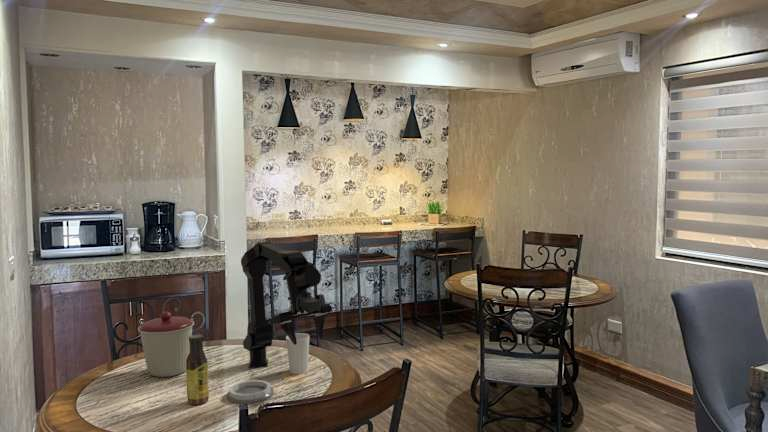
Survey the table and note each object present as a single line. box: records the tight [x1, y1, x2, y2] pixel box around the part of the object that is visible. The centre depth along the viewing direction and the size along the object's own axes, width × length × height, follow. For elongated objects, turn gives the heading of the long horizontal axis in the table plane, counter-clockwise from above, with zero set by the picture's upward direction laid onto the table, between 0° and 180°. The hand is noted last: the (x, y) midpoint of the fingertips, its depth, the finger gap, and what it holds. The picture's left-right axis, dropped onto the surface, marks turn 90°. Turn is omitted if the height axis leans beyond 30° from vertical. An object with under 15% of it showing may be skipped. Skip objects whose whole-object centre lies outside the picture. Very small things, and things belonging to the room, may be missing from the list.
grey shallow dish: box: [226, 379, 275, 405], centre depth 182 cm, size 14×14×2 cm
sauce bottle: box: [185, 334, 210, 406], centre depth 177 cm, size 7×6×20 cm
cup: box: [285, 332, 310, 375], centre depth 202 cm, size 8×8×12 cm
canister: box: [137, 311, 195, 378], centre depth 203 cm, size 18×18×21 cm
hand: (308, 341), depth 183 cm, fingers open, 9 cm apart
